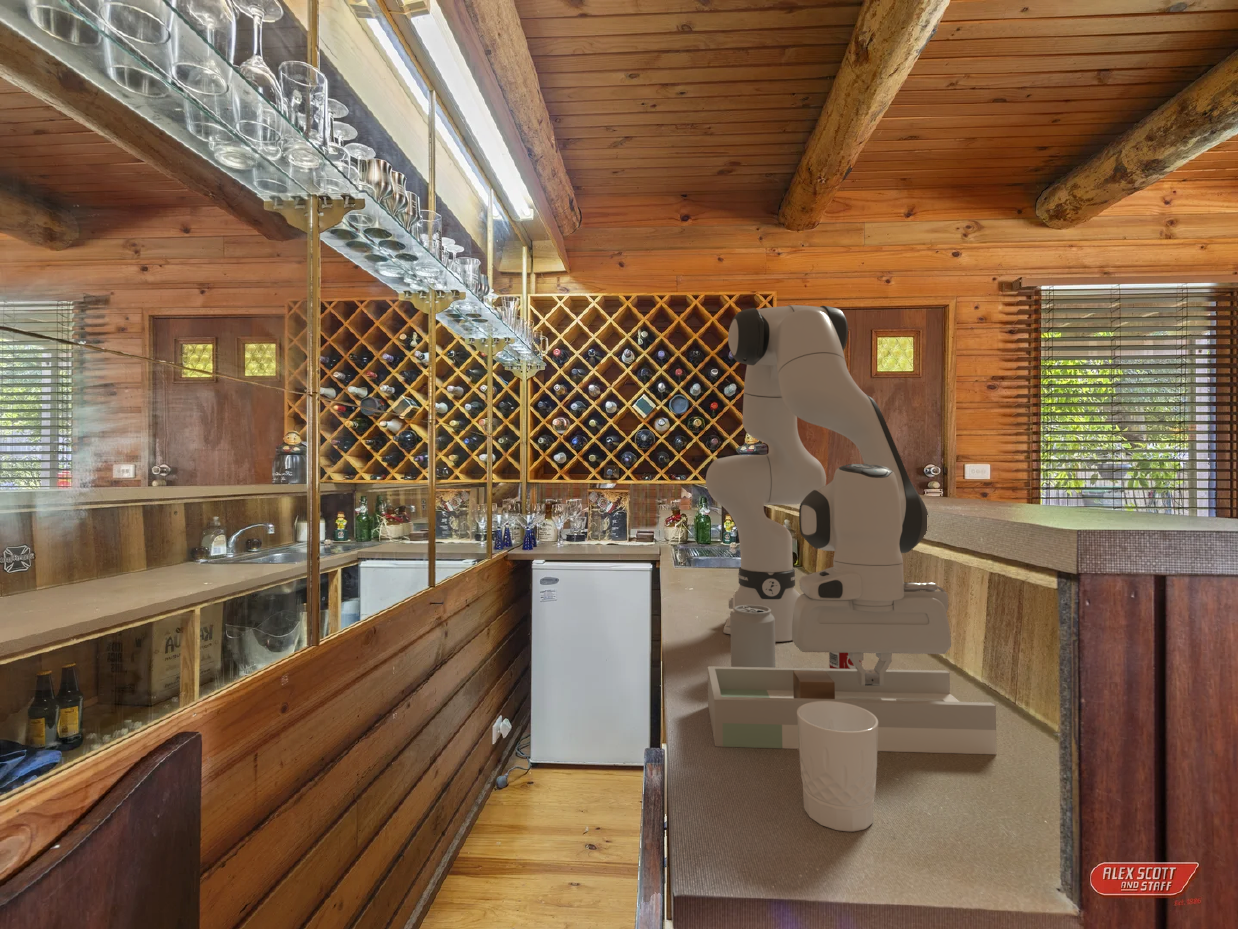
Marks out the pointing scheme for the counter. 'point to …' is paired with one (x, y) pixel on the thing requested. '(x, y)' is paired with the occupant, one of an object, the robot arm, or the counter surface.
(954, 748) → the tray
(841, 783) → the white cup
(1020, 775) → the counter surface
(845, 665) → the soda can
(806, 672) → the walnut block
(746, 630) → the can
